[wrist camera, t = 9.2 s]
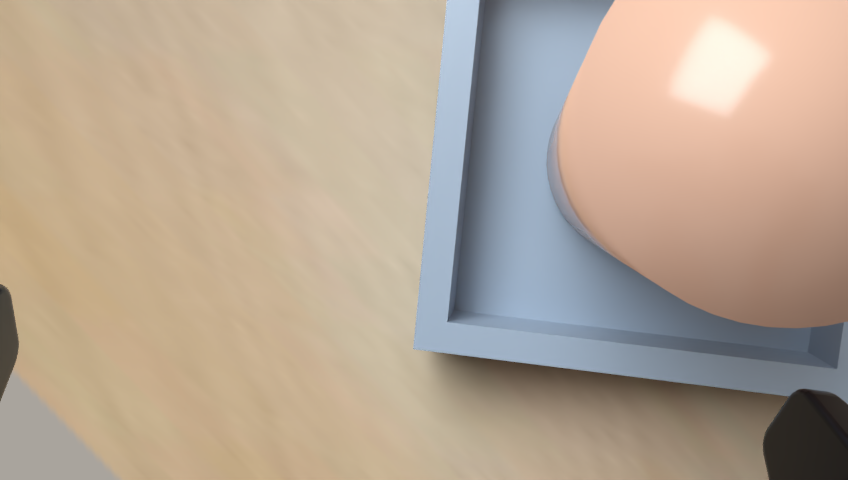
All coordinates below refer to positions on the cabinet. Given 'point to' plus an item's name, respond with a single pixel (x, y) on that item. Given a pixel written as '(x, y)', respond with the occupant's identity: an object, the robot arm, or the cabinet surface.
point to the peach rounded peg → (716, 153)
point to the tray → (561, 231)
